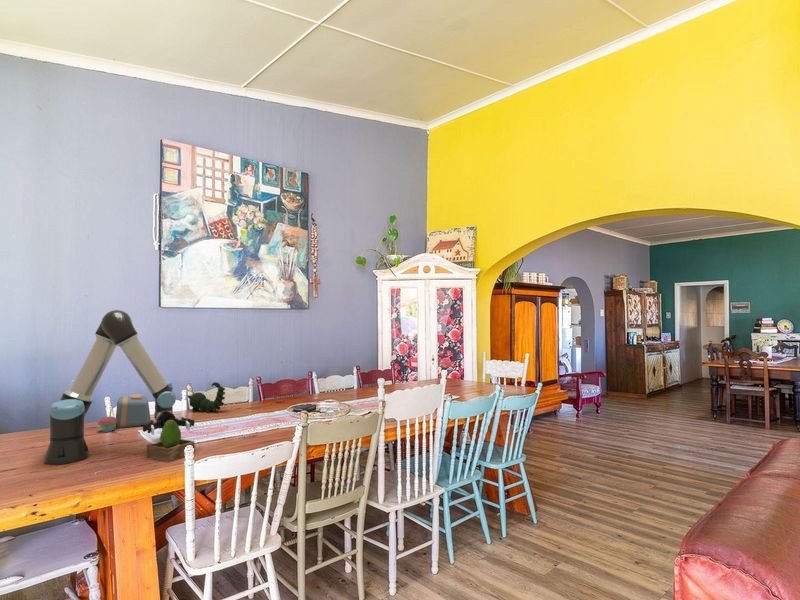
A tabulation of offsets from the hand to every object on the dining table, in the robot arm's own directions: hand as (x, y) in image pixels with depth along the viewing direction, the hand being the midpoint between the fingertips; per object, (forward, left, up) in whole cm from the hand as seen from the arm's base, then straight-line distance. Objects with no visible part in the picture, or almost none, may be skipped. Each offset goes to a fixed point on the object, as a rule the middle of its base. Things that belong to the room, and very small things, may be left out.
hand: (171, 429), depth 207 cm
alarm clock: (+28, +69, -11) cm, 75 cm away
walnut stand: (0, +1, -11) cm, 11 cm away
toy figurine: (+68, +61, -11) cm, 92 cm away
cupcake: (+13, +67, -11) cm, 69 cm away
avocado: (0, +1, -8) cm, 8 cm away
